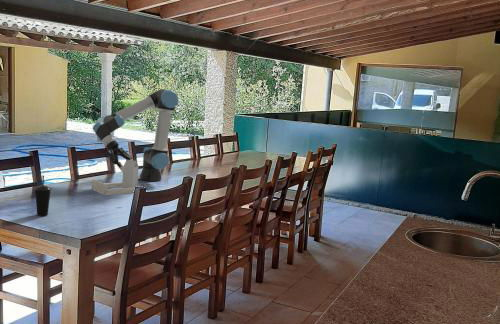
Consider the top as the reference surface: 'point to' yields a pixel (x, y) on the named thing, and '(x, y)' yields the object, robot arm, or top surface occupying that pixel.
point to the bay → (103, 187)
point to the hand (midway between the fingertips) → (130, 169)
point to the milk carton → (130, 174)
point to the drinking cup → (42, 199)
